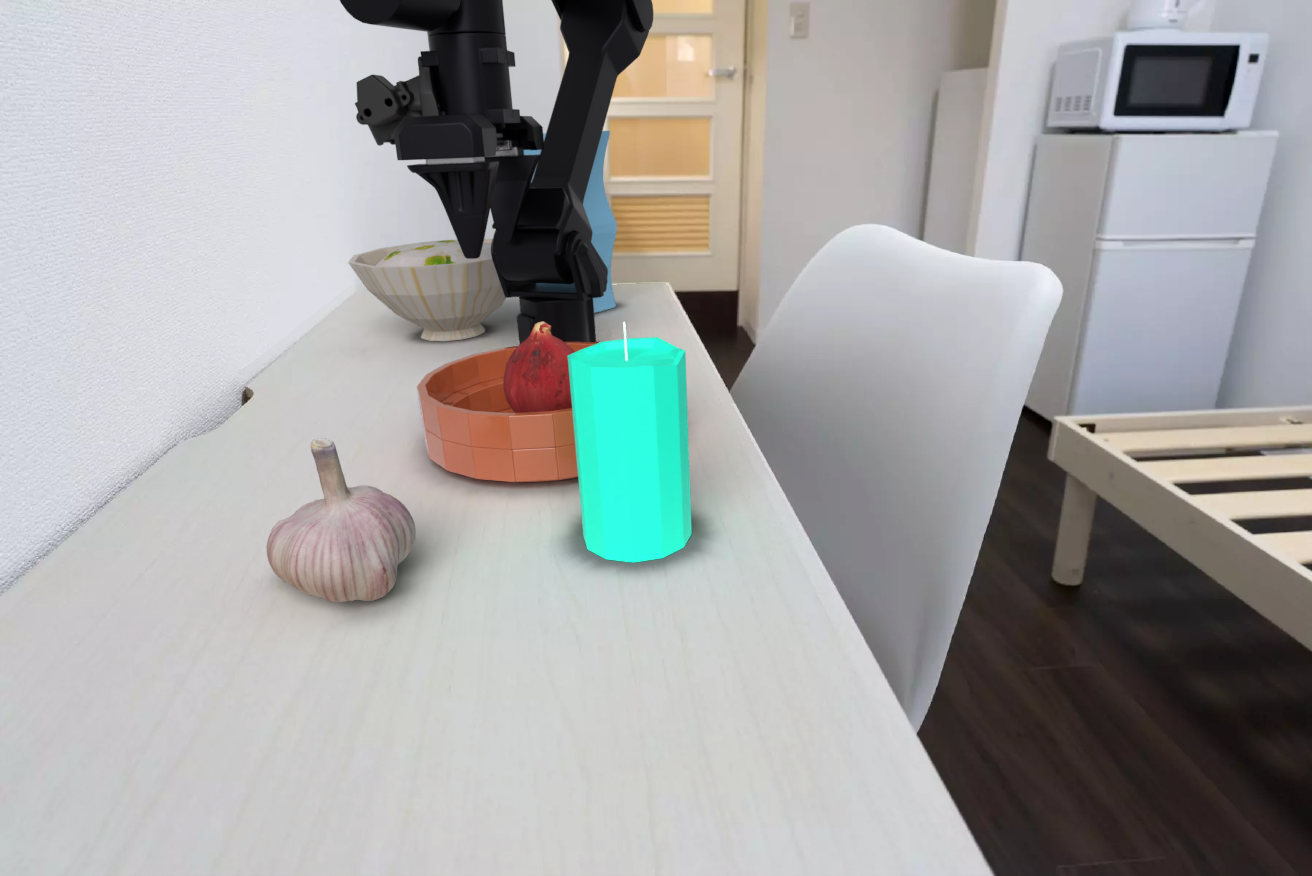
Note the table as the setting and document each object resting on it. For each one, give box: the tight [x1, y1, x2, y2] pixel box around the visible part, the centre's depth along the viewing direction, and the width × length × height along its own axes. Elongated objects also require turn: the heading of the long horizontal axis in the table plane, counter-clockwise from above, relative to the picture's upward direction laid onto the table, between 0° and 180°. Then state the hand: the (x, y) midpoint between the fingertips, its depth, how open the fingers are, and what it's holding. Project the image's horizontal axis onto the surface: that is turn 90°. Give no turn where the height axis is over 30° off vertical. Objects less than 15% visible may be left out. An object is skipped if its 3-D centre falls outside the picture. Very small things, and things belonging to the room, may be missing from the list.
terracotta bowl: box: [416, 341, 598, 483], centre depth 59 cm, size 17×17×5 cm
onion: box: [503, 321, 575, 413], centre depth 59 cm, size 6×6×8 cm
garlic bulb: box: [266, 437, 417, 603], centre depth 41 cm, size 8×7×8 cm
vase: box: [524, 130, 618, 314], centre depth 97 cm, size 8×8×20 cm
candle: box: [567, 321, 693, 563], centre depth 44 cm, size 6×6×12 cm
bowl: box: [347, 238, 507, 342], centre depth 90 cm, size 19×19×10 cm
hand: (490, 249), depth 67 cm, fingers open, 9 cm apart
